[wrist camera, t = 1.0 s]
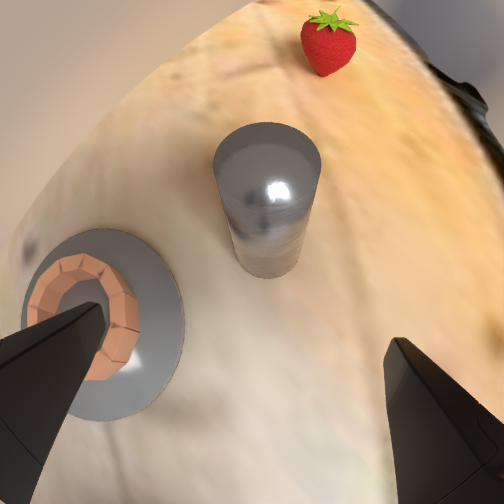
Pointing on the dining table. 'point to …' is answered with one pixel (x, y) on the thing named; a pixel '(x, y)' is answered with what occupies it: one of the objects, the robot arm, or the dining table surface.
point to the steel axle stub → (267, 194)
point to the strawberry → (328, 42)
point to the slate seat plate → (152, 318)
